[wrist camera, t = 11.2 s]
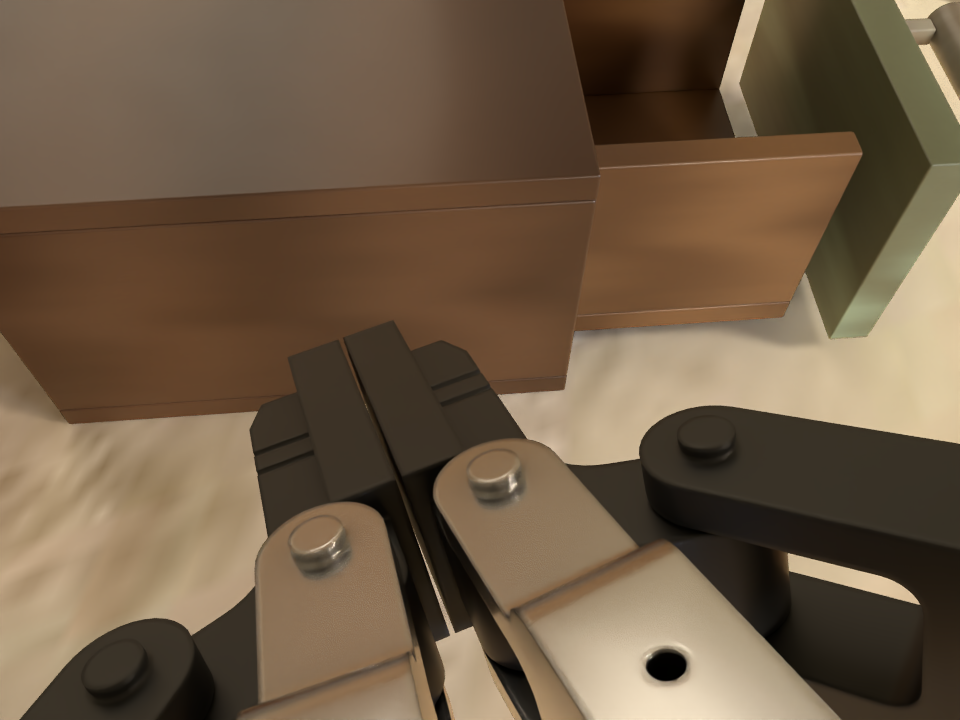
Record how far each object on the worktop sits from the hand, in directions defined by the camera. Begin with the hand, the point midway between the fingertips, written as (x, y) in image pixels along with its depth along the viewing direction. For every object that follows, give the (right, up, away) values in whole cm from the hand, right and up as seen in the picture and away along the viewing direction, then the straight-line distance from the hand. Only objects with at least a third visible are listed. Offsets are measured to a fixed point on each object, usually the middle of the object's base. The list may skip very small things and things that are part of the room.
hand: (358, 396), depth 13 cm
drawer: (+8, +6, +18) cm, 21 cm away
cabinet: (-4, +4, +18) cm, 19 cm away
